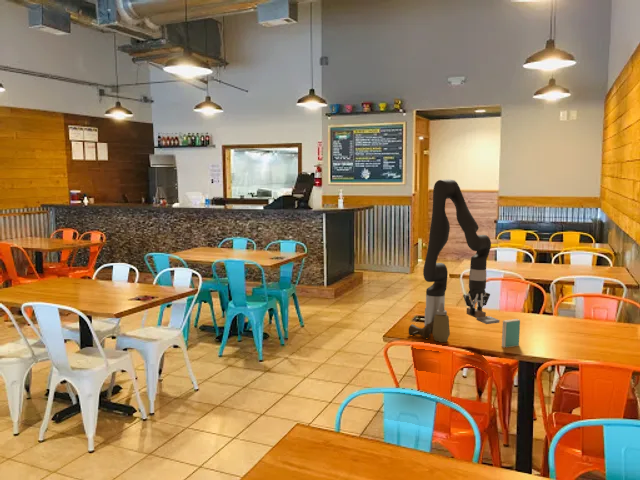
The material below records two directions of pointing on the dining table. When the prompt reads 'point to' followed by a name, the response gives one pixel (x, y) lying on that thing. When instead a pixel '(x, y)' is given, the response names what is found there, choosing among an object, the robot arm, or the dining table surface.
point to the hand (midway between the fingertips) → (475, 314)
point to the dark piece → (483, 317)
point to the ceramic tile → (510, 333)
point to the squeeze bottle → (441, 325)
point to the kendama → (421, 330)
